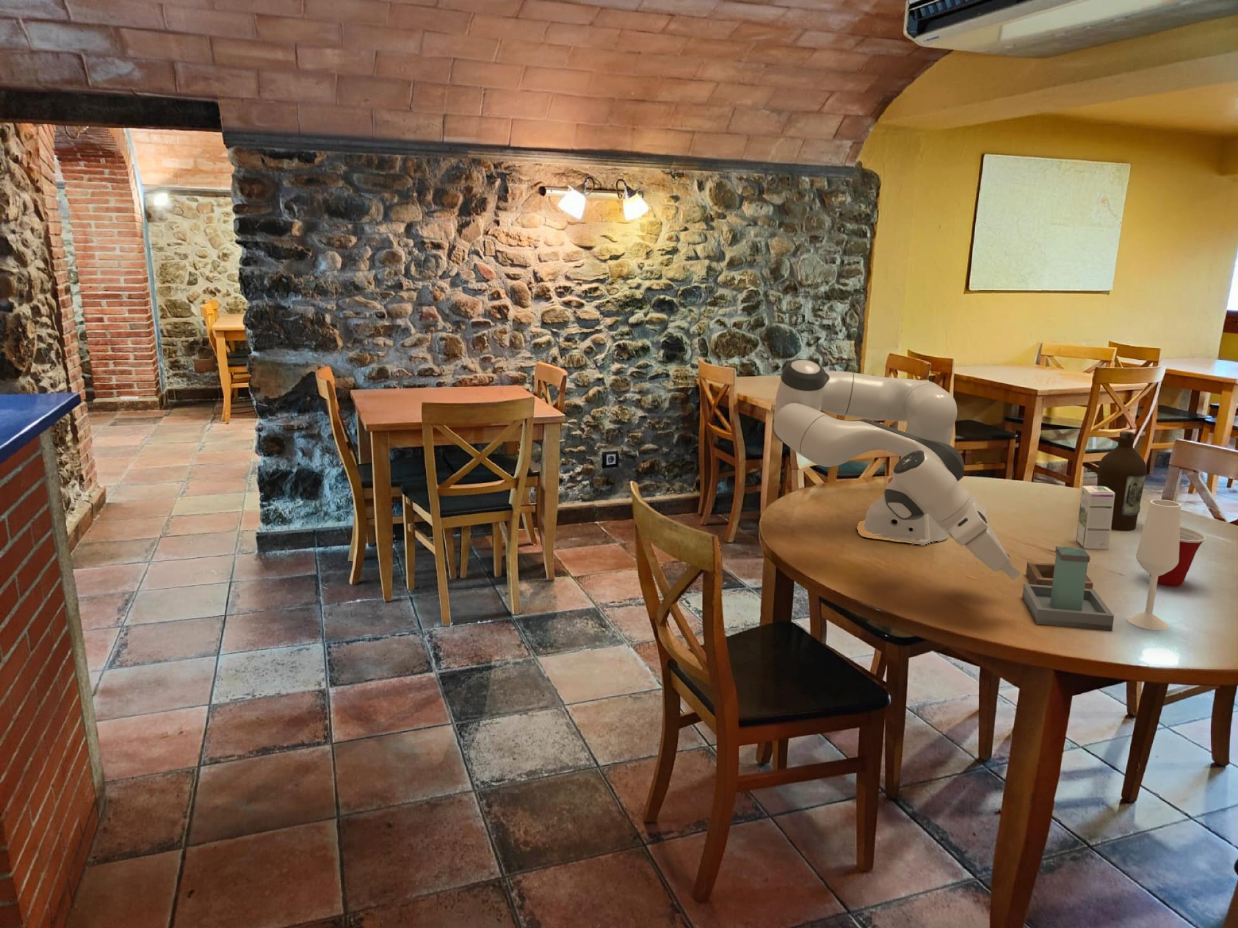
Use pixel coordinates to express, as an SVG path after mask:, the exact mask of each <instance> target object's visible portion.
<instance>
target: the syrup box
mask: <svg viewBox="0 0 1238 928" xmlns="http://www.w3.org/2000/svg"><path fill="white" fill-rule="evenodd" d="M1114 498H1115V493H1114V492H1113V491H1112V490H1110V489H1109V488H1107V487H1105V486H1097V485H1082V486H1081V494H1080V501H1079V502H1080V503H1079V510H1078V511H1079V512H1078V520H1077V527H1076V528H1077V529H1076V538H1075V539H1076V540H1075V541H1076V542H1077V543H1078V544H1079V546H1081V548H1083V549H1086V550H1106V551H1107V550H1109V547H1110V540H1111V533H1112V530H1111V524H1112V516H1113V506H1114Z"/></svg>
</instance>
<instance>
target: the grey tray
mask: <svg viewBox="0 0 1238 928" xmlns="http://www.w3.org/2000/svg"><path fill="white" fill-rule="evenodd" d="M1051 592H1052V586H1045V585H1033V584H1031V583H1030V584H1029V583H1023V587H1022V597H1021V598H1022V600H1023V601H1024V603H1025V605H1026V607H1027V608H1028V609H1027V610H1028V611H1029V613H1030V615H1031V617H1032V619H1033V621H1034V622H1035V625H1047V626H1055V627H1056V626H1057V627H1068V628H1069V627H1070V628H1078V629H1079V628H1081V629H1091V630H1101V631H1112V632H1113V627H1114V619H1115V615H1114V613H1112V611H1111V610H1110V609H1109V607H1108V606H1107V605H1106V603H1105V602H1104V600H1103V599H1102V597H1100V596H1099V593H1097V592H1096V590H1095V589H1094V588H1093V589H1085V590H1084V597H1083V605H1082V611H1074V610H1063V609H1054V608H1053V607H1052V605H1051V603H1050V600H1051Z"/></svg>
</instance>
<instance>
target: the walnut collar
mask: <svg viewBox="0 0 1238 928" xmlns="http://www.w3.org/2000/svg"><path fill="white" fill-rule="evenodd" d="M1054 567H1055V563H1050V562H1049V563H1046V562H1036V561H1035V562H1034V561H1027V562H1026V570H1025V576H1026V577H1027V579H1028V580H1029V582H1030V584H1033V585H1045V586H1052V584H1053V575H1054ZM1093 586H1094V582H1093V581H1092V580H1091V579H1090V577H1089V576H1088V575H1087V574H1086V582H1085V589H1094V588H1093Z"/></svg>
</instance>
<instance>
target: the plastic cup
mask: <svg viewBox="0 0 1238 928" xmlns="http://www.w3.org/2000/svg"><path fill="white" fill-rule="evenodd" d="M1206 539H1207V536H1206V535H1205V534H1204V533H1202V532H1200V531H1198V530H1195V529H1193V528H1191V527H1190V528H1189V527H1188V526H1187V527H1186V526H1182V525H1180V542H1179V563H1178V565H1177V566H1176V567H1175V568H1174V569H1172V570H1171V571H1169V572H1167V573H1165V574H1163V575H1161V576H1158V581H1157V585H1159V586H1163V587H1167V588H1168V587H1169V588H1170V587H1171V588H1179V587H1182V585H1183V584H1184V582H1185V579H1186V578H1187V574H1188V572H1189V571H1190V569H1191V566H1192V563H1193V562H1194V559H1195V556H1196V553H1197V551H1198V549H1199V548H1200V546H1201V545H1202V543H1204V542H1205V541H1206ZM1149 577H1151V575H1150V574H1149Z"/></svg>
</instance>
